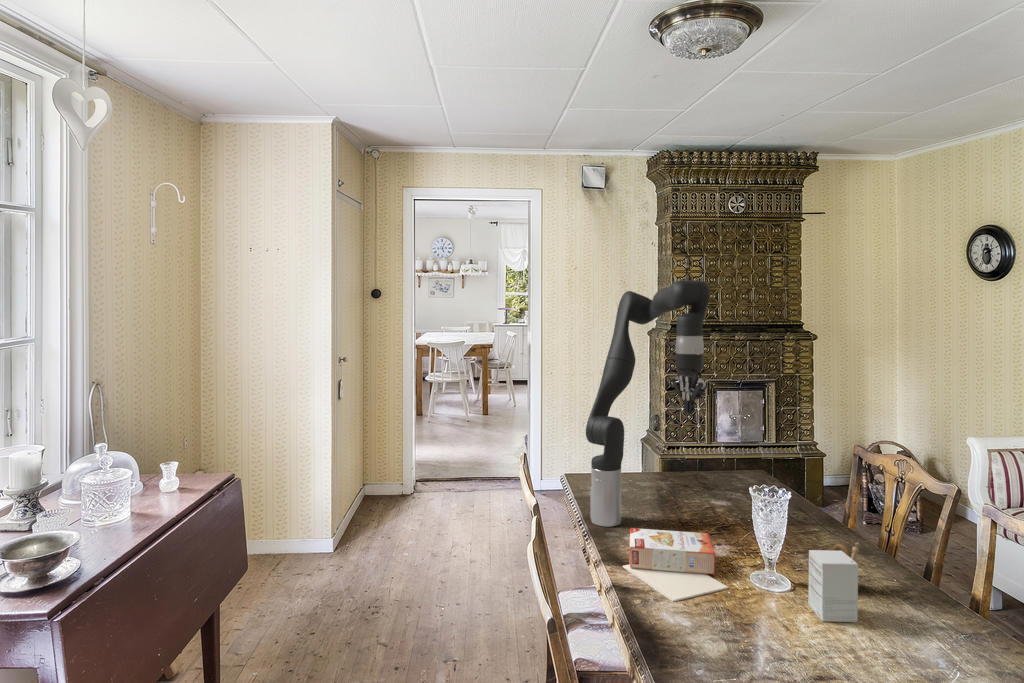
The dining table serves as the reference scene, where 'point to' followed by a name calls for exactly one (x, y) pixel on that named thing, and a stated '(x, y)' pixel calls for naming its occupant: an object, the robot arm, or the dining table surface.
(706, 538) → the cracker box
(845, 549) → the snail figurine
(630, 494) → the dining table surface
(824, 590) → the supplement box
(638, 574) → the cream placemat
